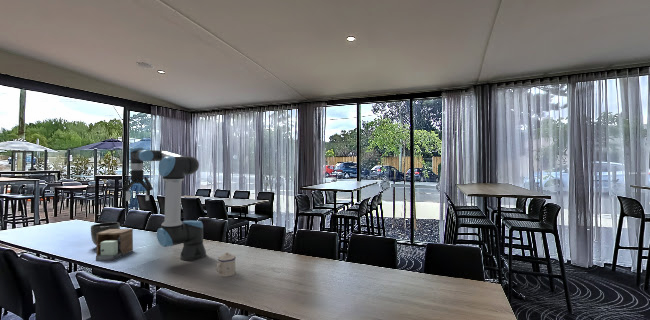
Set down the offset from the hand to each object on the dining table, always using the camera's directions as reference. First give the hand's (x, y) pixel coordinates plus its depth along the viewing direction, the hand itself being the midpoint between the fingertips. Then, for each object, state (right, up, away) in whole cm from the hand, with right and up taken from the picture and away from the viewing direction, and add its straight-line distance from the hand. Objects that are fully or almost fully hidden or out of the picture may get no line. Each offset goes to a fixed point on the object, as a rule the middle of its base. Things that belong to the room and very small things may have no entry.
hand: (137, 200), depth 207 cm
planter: (-31, -35, +12) cm, 48 cm away
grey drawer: (-8, -35, -16) cm, 39 cm away
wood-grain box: (-12, -35, -5) cm, 37 cm away
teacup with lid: (+76, -34, -46) cm, 95 cm away
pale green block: (-8, -35, -16) cm, 39 cm away
